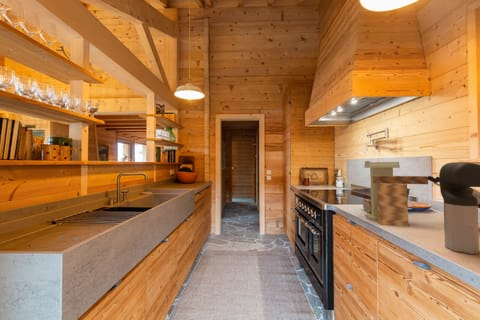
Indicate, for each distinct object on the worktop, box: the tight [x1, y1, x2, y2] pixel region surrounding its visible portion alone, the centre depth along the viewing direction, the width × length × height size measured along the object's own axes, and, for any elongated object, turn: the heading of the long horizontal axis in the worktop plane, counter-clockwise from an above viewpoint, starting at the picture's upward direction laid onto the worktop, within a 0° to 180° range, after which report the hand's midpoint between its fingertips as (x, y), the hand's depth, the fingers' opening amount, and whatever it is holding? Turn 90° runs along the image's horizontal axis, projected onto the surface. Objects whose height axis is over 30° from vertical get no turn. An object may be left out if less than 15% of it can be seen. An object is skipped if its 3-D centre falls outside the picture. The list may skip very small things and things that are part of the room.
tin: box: [362, 198, 371, 214], centre depth 147 cm, size 15×3×8 cm, turn 168°
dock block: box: [376, 183, 410, 228], centre depth 118 cm, size 13×9×22 cm, turn 69°
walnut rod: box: [373, 175, 429, 185], centre depth 117 cm, size 24×4×4 cm, turn 69°
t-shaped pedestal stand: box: [364, 160, 400, 222], centre depth 128 cm, size 16×10×34 cm, turn 69°
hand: (431, 177), depth 112 cm, fingers open, 8 cm apart
